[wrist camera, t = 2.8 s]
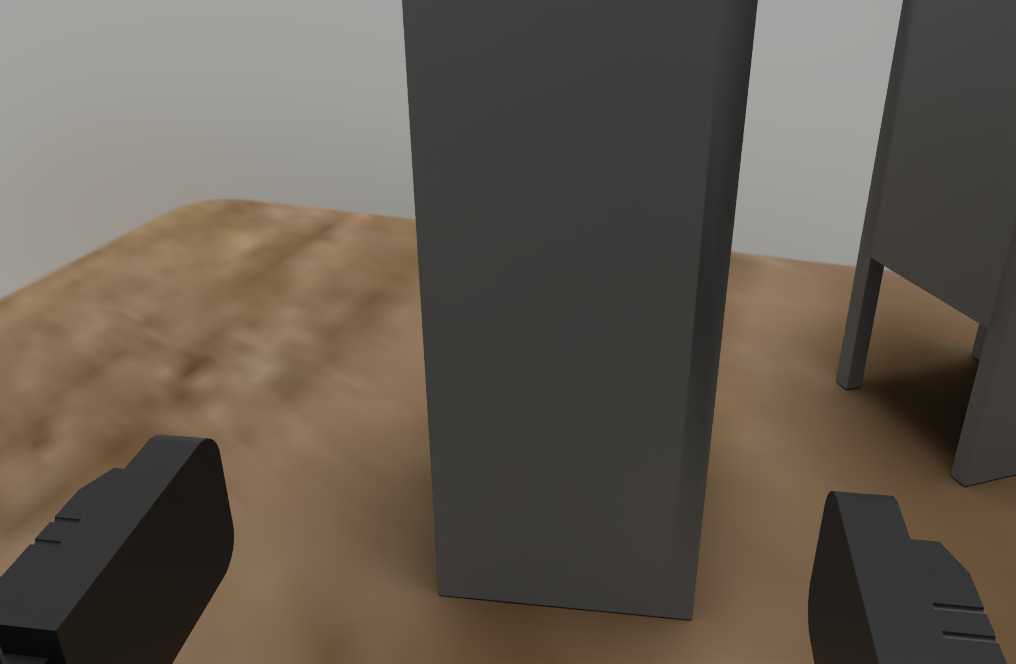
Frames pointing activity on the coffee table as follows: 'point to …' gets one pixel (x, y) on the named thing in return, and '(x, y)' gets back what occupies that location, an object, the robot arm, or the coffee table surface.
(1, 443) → the coffee table surface
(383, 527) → the coffee table surface
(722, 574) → the coffee table surface
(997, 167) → the tall gray rectangular cabinet
